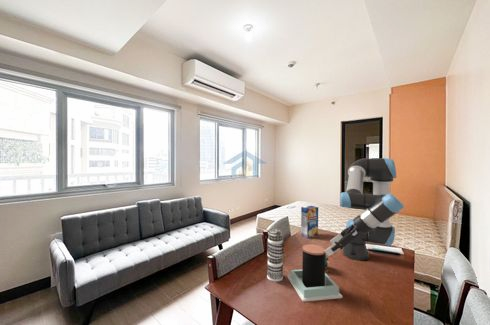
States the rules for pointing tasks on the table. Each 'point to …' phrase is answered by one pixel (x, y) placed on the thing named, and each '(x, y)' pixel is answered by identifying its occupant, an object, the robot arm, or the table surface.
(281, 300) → the table surface
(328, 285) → the pocket tray
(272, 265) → the decorative candle
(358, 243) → the robot arm
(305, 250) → the coffee jar
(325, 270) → the binoculars
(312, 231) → the juice carton
